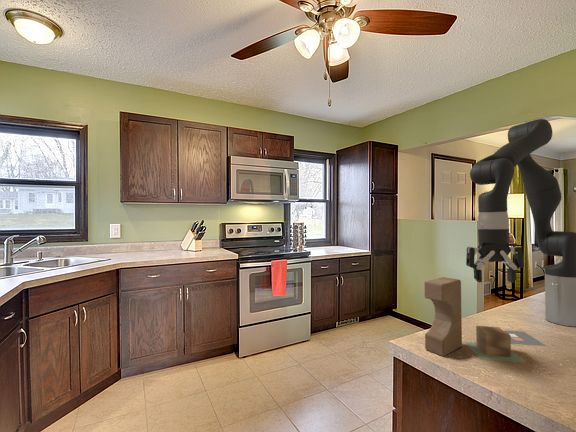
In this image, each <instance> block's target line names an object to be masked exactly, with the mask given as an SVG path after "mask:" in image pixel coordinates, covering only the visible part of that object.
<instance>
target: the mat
mask: <svg viewBox="0 0 576 432" xmlns="http://www.w3.org/2000/svg"><path fill="white" fill-rule="evenodd" d="M463 343H464V344H465V345H466V346H467V347H468V348H469V349H470V350H471V351H472V352H473V353H474V354H475V355H476V356H477V357H478V358H479V359H480V360H487V361H503V362H514V363H528V362H527V361H526V360H525V359H523V358H522V357H521V356H519V355H518V354H517V353H515V352H514V351H513V350H511V357H501V356H488V355H486V354H485V353H483V352H482V351H481V350H480V349H479V348H478V347H477V346H476V342H472V341H463Z"/></svg>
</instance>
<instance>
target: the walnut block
mask: <svg viewBox="0 0 576 432" xmlns="http://www.w3.org/2000/svg"><path fill="white" fill-rule="evenodd" d="M475 329H476V330H475V335H476V337H475V338H476V339H475V341H476V342H475V343H476V346H477V347H478V348H479V349H480V350H481V351H482V352H483V353H485V354H486V355H488V356H501V357H511V351H512V347H511V346H512V344H511V335H509V334H508V333H507V332H505V331H506V330H505V331H504V329H502V328H500V327H499V326H490V325H489V326H488V325H487V326H483V325H476V326H475Z"/></svg>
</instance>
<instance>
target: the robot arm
mask: <svg viewBox="0 0 576 432" xmlns="http://www.w3.org/2000/svg"><path fill="white" fill-rule="evenodd" d="M552 138H553V127H552V125H551V123H550V121H549V120H547V119H545V118H537V119H534V120H530V121H527V122H523V123H520V124H517V125H514V126H511V127H510V128H509V129H508V130H507V140H508V143H506V144H504V145H502V146H501V147H500V148H499V149H497V150H496V151H494V153H492V154H491V155H488V156H486V157H484V158H481V159H480V160H478V161H477V162H475V163H474V164H473V165H472V167H471V168H470V171H469V176H470V180H471V181H472V182H473V183H474V184H475V185H480V186H481V185H482V186H484V185H485V186H486V185H494V187H493V188H492V189H491V190H489V191H485V192H482V193H481V194H479V195H478V196H477V198H478V199H477V203H478V204H477V205H478V206H477V209H478V211H477V212H478V213H477V214H478V216H477V237H478V240H477V243H478V245H477V247H472V246H467V247H466V255H465V256H466V259H465V263H466V264H465V265H466V266H467V267H469V268H472V270H473V278H474V280H475V281H476V282H477V283H482V282H483V276H482V275H483V273H482V271H483V270H482V268H483V266H484V265H486V264H488V262H489V263H494V262H497V263H503V264H504V265H505V266H506V267H507V268H506V270H507V271H506V274H507V275H506V279H507V282H508V283H513V284H514V283H515V281H516V280H517V270H518V269H521V268H524V267H525V265H524V264H525V263H524V255H523V254H524V253H523V248H522V247H521V246H515V245H513V246H511V247H510V220H509V218H510V217H509V214H508V213H509V212H508V195H509V191H510V187H511V185H512V182H513V181H512V180H513V178H514V175H515V167H516V166H517V167H518V170H519V174H520V176H521V180H522V184H523V189H524V193H525V196H526V199H527V202H528V205H529V208H530V211H531V214H532V217H533V218H532V219H533V222H534V229H535V234H536V242H537V244H538V249H539V250H540V252H541V253H542V254H543V255H545V256H550V257H551V256H553V257H562V260H561V261H560V262H558V263H555V264H548V265H546V266H545V267H544V303H545V313H544V315H545V320H546V321H548V322H550V323H551V324H552V323H553V324H556V325H559V326H566V327H576V232H575V231H562V230H561V231H559V230H558V231H556V230H553V229H552V224H551V221H552V218H553V215H554V213H555V211H556V210H557V209H558V207H559V205H560V203H561V201H562V198H563V197H562V192H561V187H560V185H559V181H558V179H557V177H555V176H554V175H553V174H552V173H551V172H550V171H548V170H547V169H546V168H545V167H543V166H541V165H540V164H539V163H537V162H536V161H535V160H534V158H533V157H532V155H531V154H532V153H533V152H534V151H537V150H538V149H540V148H541V147H544V146H545V145H547V144H549V142H551V140H552ZM477 252H478V254H479V256H478V257H477V259H476V261H475V255H477ZM510 253H511V254H512V255H513V260H512V259H511V257H509V255H510Z"/></svg>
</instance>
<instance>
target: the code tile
mask: <svg viewBox="0 0 576 432" xmlns="http://www.w3.org/2000/svg"><path fill="white" fill-rule="evenodd" d="M503 330H504V329H503ZM504 331H505V332H507V333H508V334H509V335H511V345H526V346H539V347H540V346H541V347H547V344H545V343H544V342H541V341H540V340H538V339H536V338H534V337H533V336H531V335H529V334H528V333H527V332H525V331H517V330H504Z"/></svg>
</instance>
